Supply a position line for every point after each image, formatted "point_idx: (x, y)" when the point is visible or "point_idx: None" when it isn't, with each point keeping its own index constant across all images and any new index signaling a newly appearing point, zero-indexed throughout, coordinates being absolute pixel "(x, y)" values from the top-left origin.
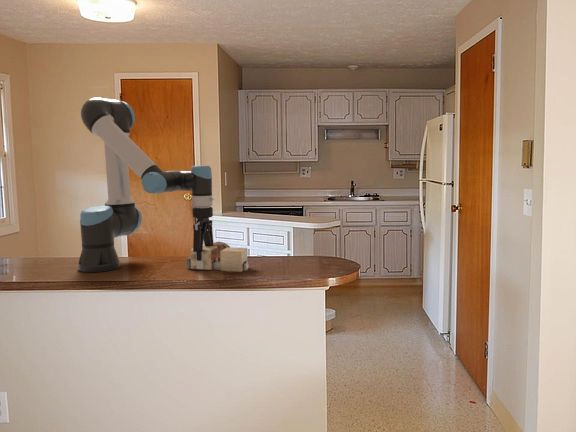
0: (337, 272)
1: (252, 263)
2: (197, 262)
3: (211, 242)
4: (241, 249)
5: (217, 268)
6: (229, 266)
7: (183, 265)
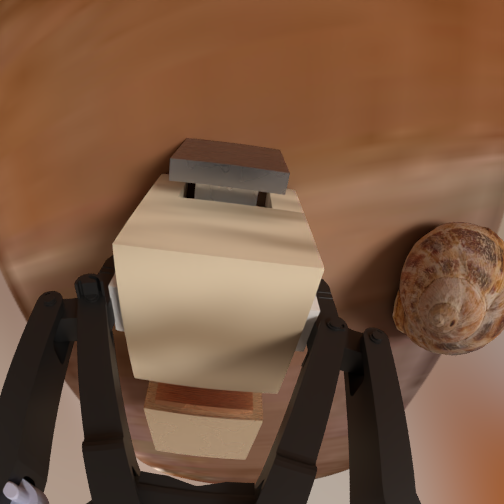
0: (206, 476)
1: None
2: None
3: (346, 375)
4: (207, 452)
5: None
6: None
7: (304, 82)
